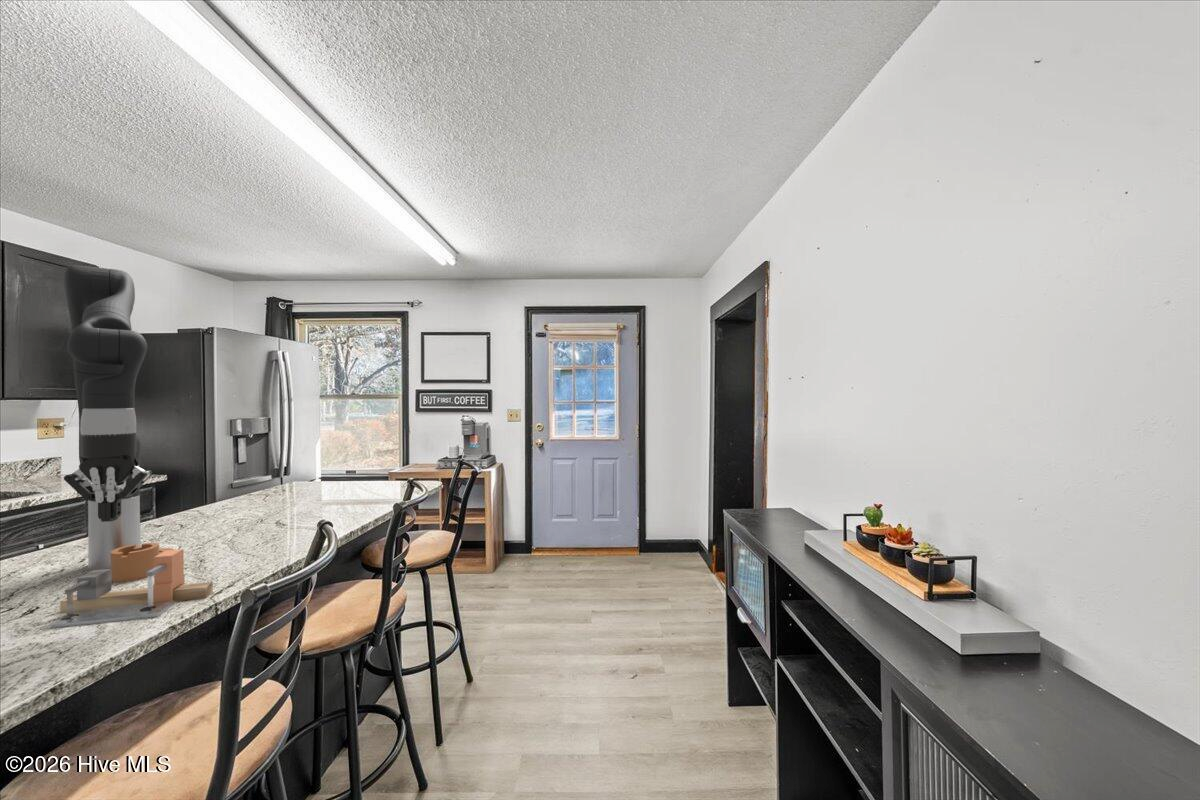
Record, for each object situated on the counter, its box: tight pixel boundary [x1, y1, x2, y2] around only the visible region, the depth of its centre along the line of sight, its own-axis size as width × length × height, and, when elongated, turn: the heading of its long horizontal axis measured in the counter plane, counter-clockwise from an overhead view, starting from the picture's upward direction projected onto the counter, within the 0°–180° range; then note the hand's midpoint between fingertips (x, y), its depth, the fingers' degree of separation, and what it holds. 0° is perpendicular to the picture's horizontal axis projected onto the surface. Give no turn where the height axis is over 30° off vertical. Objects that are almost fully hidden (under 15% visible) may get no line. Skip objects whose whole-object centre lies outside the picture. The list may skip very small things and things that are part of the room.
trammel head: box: [146, 548, 186, 607], centre depth 98 cm, size 10×3×10 cm, turn 17°
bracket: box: [111, 542, 175, 583], centre depth 118 cm, size 18×8×7 cm, turn 26°
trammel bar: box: [59, 569, 214, 616], centre depth 96 cm, size 9×24×7 cm, turn 107°
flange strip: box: [49, 601, 176, 629], centre depth 92 cm, size 6×16×1 cm, turn 107°
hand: (109, 520), depth 92 cm, fingers closed
